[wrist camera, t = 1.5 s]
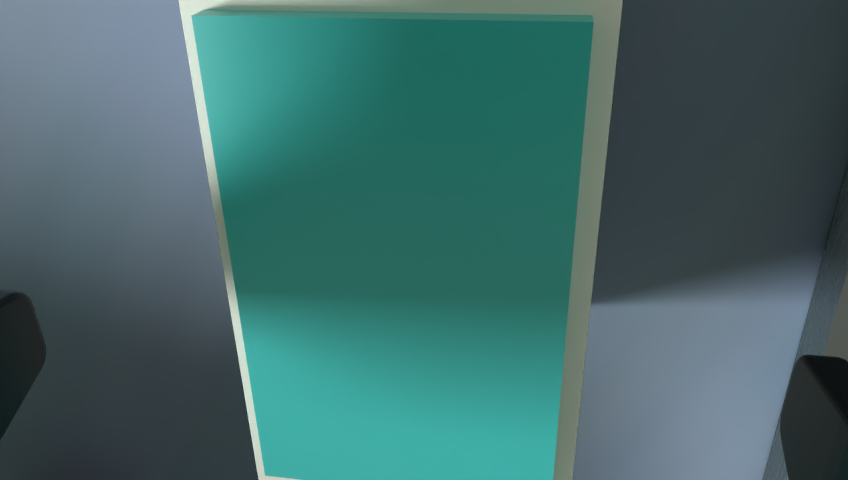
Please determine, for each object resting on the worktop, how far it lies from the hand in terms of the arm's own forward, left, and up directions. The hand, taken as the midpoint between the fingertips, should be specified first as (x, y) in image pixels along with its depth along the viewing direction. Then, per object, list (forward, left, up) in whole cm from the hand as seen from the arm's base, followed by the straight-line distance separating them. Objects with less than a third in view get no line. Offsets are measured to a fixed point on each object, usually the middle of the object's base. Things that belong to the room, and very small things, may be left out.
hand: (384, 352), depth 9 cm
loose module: (0, 0, -8) cm, 8 cm away
